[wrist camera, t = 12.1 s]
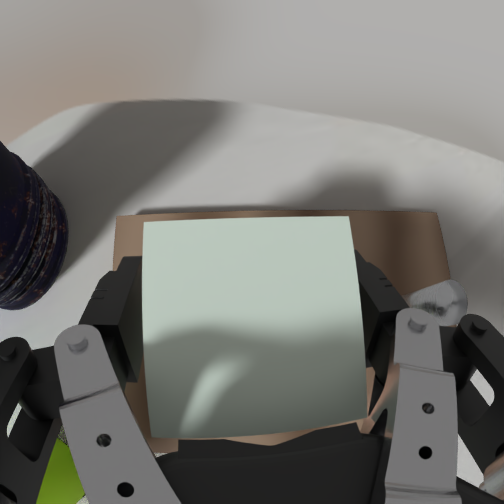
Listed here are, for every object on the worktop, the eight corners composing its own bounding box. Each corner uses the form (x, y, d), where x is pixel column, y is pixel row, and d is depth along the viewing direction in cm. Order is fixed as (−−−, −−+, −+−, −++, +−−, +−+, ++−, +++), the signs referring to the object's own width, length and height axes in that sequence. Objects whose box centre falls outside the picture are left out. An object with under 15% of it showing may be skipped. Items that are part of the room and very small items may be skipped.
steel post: (396, 300, 18) (463, 277, 12) (400, 332, 17) (469, 321, 11) (369, 303, 18) (433, 281, 12) (372, 336, 17) (438, 328, 11)
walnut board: (426, 220, 22) (436, 212, 20) (447, 401, 18) (459, 403, 16) (123, 225, 19) (116, 216, 18) (128, 442, 15) (121, 449, 14)
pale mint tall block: (279, 283, 17) (348, 216, 8) (286, 374, 16) (367, 417, 6) (188, 288, 17) (143, 222, 7) (192, 380, 15) (151, 437, 6)
